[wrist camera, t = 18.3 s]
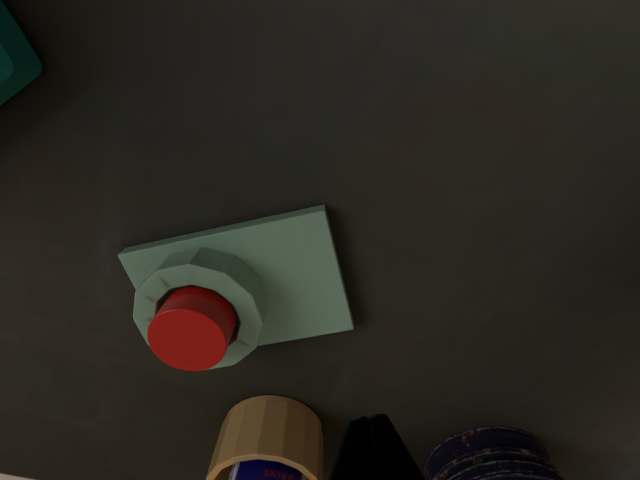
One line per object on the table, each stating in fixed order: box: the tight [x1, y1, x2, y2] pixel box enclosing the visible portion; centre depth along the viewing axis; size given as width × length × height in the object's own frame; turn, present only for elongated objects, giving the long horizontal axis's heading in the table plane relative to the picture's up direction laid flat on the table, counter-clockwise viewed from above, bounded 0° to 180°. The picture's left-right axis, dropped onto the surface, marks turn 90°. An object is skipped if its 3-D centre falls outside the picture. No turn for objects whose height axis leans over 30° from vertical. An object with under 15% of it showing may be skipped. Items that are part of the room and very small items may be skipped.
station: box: [118, 205, 354, 370], centre depth 20 cm, size 12×8×3 cm, turn 103°
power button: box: [147, 287, 236, 371], centre depth 19 cm, size 4×4×2 cm
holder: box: [206, 395, 323, 480], centre depth 25 cm, size 8×8×4 cm
